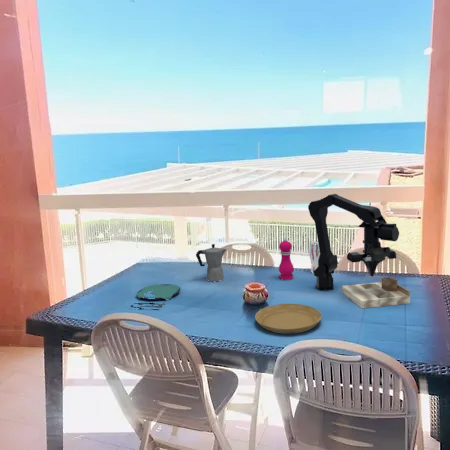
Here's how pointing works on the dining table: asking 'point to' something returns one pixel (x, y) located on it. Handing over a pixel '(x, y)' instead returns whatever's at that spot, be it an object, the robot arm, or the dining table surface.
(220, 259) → the coffeepot
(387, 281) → the walnut block
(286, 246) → the pepper mill
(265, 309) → the plant saucer
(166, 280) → the dining table surface
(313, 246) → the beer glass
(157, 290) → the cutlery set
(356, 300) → the beige sorting tray
